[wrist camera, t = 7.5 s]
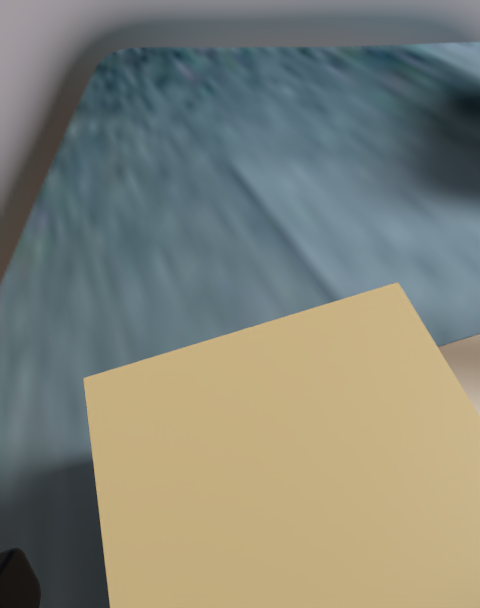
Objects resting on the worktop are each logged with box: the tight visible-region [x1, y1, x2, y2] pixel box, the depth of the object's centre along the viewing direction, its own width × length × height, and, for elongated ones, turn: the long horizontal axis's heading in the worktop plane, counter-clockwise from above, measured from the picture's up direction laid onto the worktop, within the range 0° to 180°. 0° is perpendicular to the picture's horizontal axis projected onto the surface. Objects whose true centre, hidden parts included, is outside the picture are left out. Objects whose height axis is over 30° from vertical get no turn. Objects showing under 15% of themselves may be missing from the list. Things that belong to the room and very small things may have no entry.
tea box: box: [84, 282, 480, 608], centre depth 9 cm, size 6×4×12 cm
